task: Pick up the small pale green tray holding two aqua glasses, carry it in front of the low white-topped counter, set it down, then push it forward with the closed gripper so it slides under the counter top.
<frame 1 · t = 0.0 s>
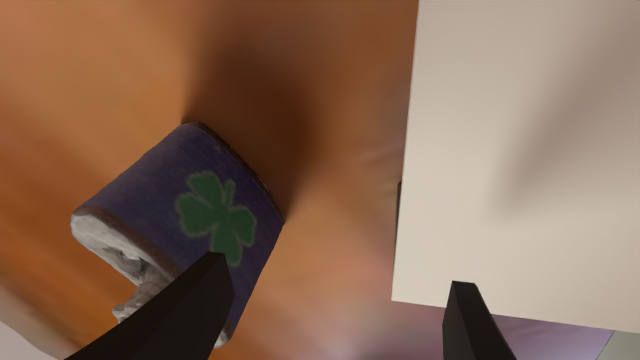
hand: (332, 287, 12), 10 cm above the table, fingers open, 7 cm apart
counter: (638, 97, 16), on the table
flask: (237, 177, 23), on the table
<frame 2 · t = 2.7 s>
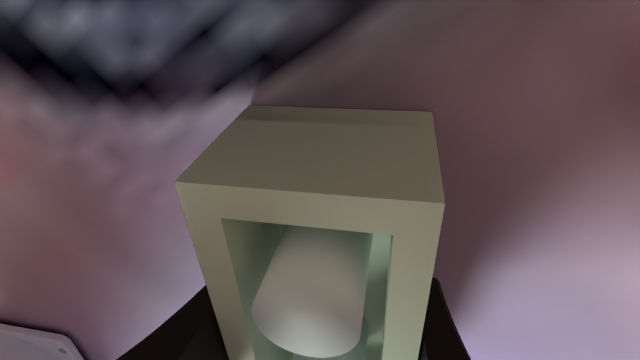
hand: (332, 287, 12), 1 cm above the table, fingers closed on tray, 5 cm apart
tray: (339, 256, 13), on the table, touching gripper
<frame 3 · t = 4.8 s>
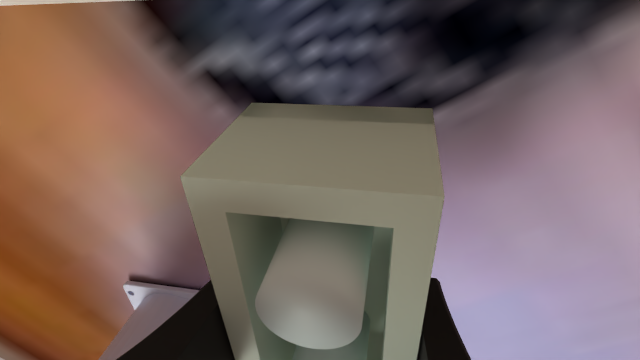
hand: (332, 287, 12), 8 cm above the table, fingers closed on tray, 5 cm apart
tray: (340, 252, 13), point 7 cm above the table, touching gripper
when the fingers open (2 cm above the table, at t = 7.0 s): tray stays where it is, on the table.
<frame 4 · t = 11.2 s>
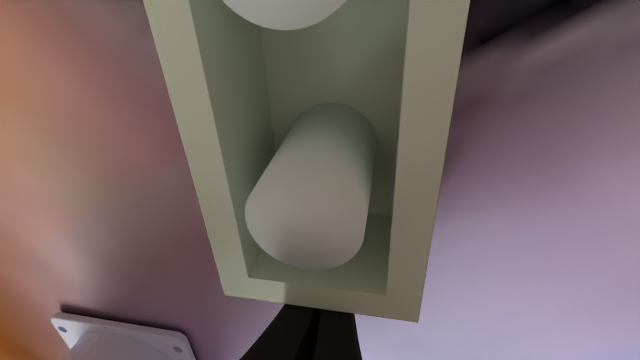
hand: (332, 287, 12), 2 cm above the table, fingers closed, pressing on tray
tray: (337, 45, 10), on the table, touching gripper
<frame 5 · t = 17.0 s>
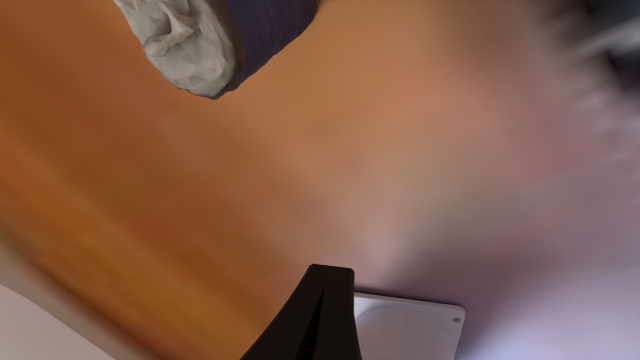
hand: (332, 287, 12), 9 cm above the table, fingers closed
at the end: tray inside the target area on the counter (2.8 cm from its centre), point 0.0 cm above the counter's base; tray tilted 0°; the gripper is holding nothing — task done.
